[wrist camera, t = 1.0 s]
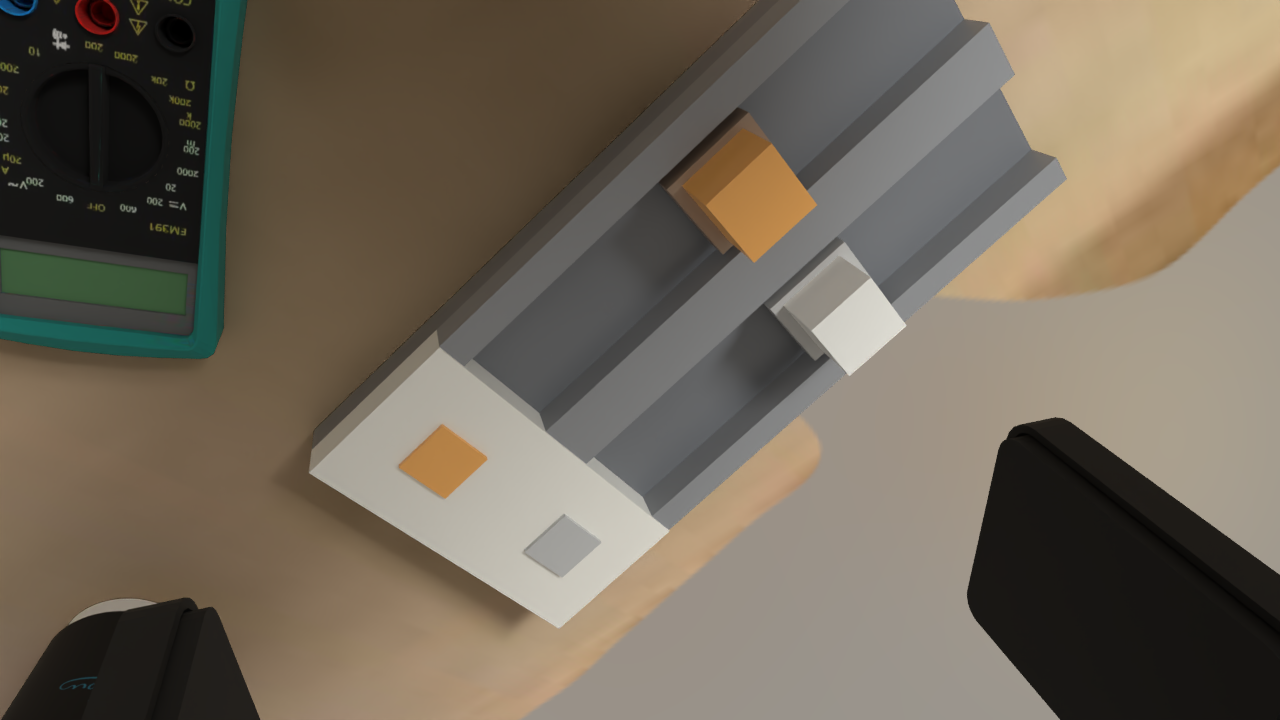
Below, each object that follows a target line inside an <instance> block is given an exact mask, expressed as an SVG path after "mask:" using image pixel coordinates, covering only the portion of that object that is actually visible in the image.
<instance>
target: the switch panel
mask: <svg viewBox="0 0 1280 720" xmlns="http://www.w3.org/2000/svg"><path fill="white" fill-rule="evenodd" d="M1014 75H1015V74H1014V72H1013V70H1012V68H1011V66H1010V64H1009V62H1008V60H1007V58H1006V56H1005V54H1004V52H1003V50H1002V48H1001V46H1000V44H999V42H998V39H997V37H996V35H995V33H994V31H993V29H992V27H991V25H990V23H987V22H980V21H973V20H966V19H964V18H963V16H962V14H961V12H960V10H959V8H958V6H957V4H956V2H955V0H759V1H758V2H757V3H756V4H755V5H754V6H753V7H752V8H751V9H749V10H748V11H747V12H746V13H745V14H744V15H743V16H742V17H741V18H740V19H739V20H738V21H737V22H736V23H735V24H734V25H733V26H732V27H731V28H730V29H729V30H728V31H727V32H726V33H725V34H724V35H723V36H722V37H720V38H719V39H718V40H717V41H716V42H715V43H714V44H713V45H712V46H711V47H710V48H709V49H708V50H707V51H706V52H705V53H704V54H703V55H702V56H701V57H700V58H699V59H698V60H697V61H696V62H695V63H694V64H693V65H692V66H690V67H689V68H688V69H687V70H686V71H685V72H684V73H683V74H682V75H681V76H680V77H679V78H678V79H677V80H676V81H675V82H674V83H673V84H672V85H671V86H670V87H669V88H668V89H667V90H666V91H665V92H664V93H663V94H661V95H660V96H659V97H658V98H657V99H656V100H655V101H654V102H653V103H652V104H651V105H650V106H649V107H648V108H647V109H646V110H645V111H644V112H643V113H642V114H641V115H640V116H639V117H638V118H637V119H636V120H635V121H634V122H633V123H631V124H630V125H629V126H628V127H627V128H626V129H625V130H624V131H623V132H622V133H621V134H620V135H619V136H618V137H617V138H616V139H615V140H614V141H613V142H612V143H611V144H610V145H609V146H608V147H607V148H606V149H605V150H604V151H602V152H601V153H600V154H599V155H598V156H597V157H596V158H595V159H594V160H593V161H592V162H591V163H590V164H589V165H588V166H587V167H586V168H585V169H584V170H583V171H582V172H581V173H580V174H579V175H578V176H577V177H576V178H575V179H574V180H572V181H571V182H570V183H569V184H568V185H567V186H566V187H565V188H564V189H563V190H562V191H561V192H560V193H559V194H558V195H557V196H556V197H555V198H554V199H553V200H552V201H551V202H550V203H549V204H548V205H547V206H546V207H545V208H543V209H542V210H541V211H540V212H539V213H538V214H537V215H536V216H535V217H534V218H533V219H532V220H531V221H530V222H529V223H528V224H527V225H526V226H525V227H524V228H523V229H522V230H521V231H520V232H519V233H518V234H517V235H516V236H515V237H513V238H512V239H511V240H510V241H509V242H508V243H507V244H506V245H505V246H504V247H503V248H502V249H501V250H500V251H499V252H498V253H497V254H496V255H495V256H494V257H493V258H492V259H491V260H490V261H489V262H488V263H487V264H486V265H484V266H483V267H482V268H481V269H480V270H479V271H478V272H477V273H476V274H475V275H474V276H473V277H472V278H471V279H470V280H469V281H468V282H467V283H466V284H465V285H464V286H463V287H462V288H461V289H460V290H459V291H458V292H457V293H456V294H454V295H453V296H452V297H451V298H450V299H449V300H448V301H447V302H446V303H445V304H444V305H443V306H442V307H441V308H440V309H439V310H438V311H437V312H436V313H435V314H434V315H433V316H432V317H431V318H430V319H429V320H428V321H427V322H425V323H424V324H423V325H422V326H421V327H420V328H419V329H418V330H417V331H416V332H415V333H414V334H413V335H412V336H411V337H410V338H409V339H408V340H407V341H406V342H405V343H404V344H403V345H402V346H401V347H400V348H399V349H398V350H397V351H395V352H394V353H393V354H392V355H391V356H390V357H389V358H388V359H387V360H386V361H385V362H384V363H383V364H382V365H381V366H380V367H379V368H378V369H377V370H376V371H375V372H374V373H373V374H372V375H371V376H370V377H369V378H368V379H366V380H365V381H364V382H363V383H362V384H361V385H360V386H359V387H358V388H357V389H356V390H355V391H354V392H353V393H352V394H351V395H350V396H349V397H348V398H347V399H346V400H345V401H344V402H343V403H342V404H341V405H340V406H339V407H338V408H336V409H335V410H334V411H333V412H332V413H331V414H330V415H329V416H328V417H327V418H326V419H325V420H324V421H323V422H322V423H321V424H320V425H319V426H318V427H317V428H316V429H315V430H314V434H313V443H312V451H311V459H310V467H309V473H310V474H311V475H313V476H314V477H316V478H318V479H319V480H321V481H322V482H324V483H326V484H327V485H329V486H330V487H332V488H334V489H335V490H337V491H338V492H340V493H342V494H343V495H345V496H347V497H348V498H350V499H351V500H353V501H355V502H356V503H358V504H359V505H361V506H363V507H364V508H366V509H367V510H369V511H371V512H372V513H374V514H375V515H377V516H379V517H380V518H382V519H383V520H385V521H387V522H388V523H390V524H392V525H393V526H395V527H396V528H398V529H400V530H401V531H403V532H404V533H406V534H408V535H409V536H411V537H412V538H414V539H416V540H417V541H419V542H420V543H422V544H424V545H425V546H427V547H428V548H430V549H432V550H433V551H435V552H437V553H438V554H440V555H441V556H443V557H445V558H446V559H448V560H449V561H451V562H453V563H454V564H456V565H457V566H459V567H461V568H462V569H464V570H465V571H467V572H469V573H470V574H472V575H473V576H475V577H477V578H478V579H480V580H481V581H483V582H485V583H486V584H488V585H490V586H491V587H493V588H494V589H496V590H498V591H499V592H501V593H502V594H504V595H506V596H507V597H509V598H510V599H512V600H514V601H515V602H517V603H518V604H520V605H522V606H523V607H525V608H526V609H528V610H530V611H531V612H533V613H535V614H536V615H538V616H539V617H541V618H543V619H544V620H546V621H547V622H549V623H551V624H552V625H554V626H555V627H557V628H560V627H562V626H563V625H564V624H565V623H566V622H567V621H568V620H569V619H571V618H572V617H573V616H574V615H575V614H576V613H577V612H579V611H580V610H581V609H582V608H583V607H584V606H585V605H586V604H588V603H589V602H590V601H591V600H592V599H593V598H594V597H596V596H597V595H598V594H599V593H600V592H601V591H602V590H604V589H605V588H606V587H607V586H608V585H609V584H610V583H611V582H613V581H614V580H615V579H616V578H617V577H618V576H619V575H621V574H622V573H623V572H624V571H625V570H626V569H627V568H628V567H630V566H631V565H632V564H633V563H634V562H635V561H636V560H638V559H639V558H640V557H641V556H642V555H643V554H644V553H645V552H647V551H648V550H649V549H650V548H651V547H652V546H653V545H655V544H656V543H657V542H658V541H659V540H660V539H661V538H662V537H664V536H665V535H666V534H667V533H668V532H669V529H670V528H672V527H673V526H674V525H675V524H676V523H677V522H678V521H680V520H681V519H682V518H683V517H684V516H685V515H686V514H687V513H689V512H690V511H691V510H692V509H693V508H694V507H695V506H697V505H698V504H699V503H700V502H701V501H702V500H703V499H704V498H706V497H707V496H708V495H709V494H710V493H711V492H712V491H714V490H715V489H716V488H717V487H718V486H719V485H720V484H721V483H723V482H724V481H725V480H726V479H727V478H728V477H729V476H731V475H732V474H733V473H734V472H735V471H736V470H737V469H739V468H740V467H741V466H742V465H743V464H744V463H745V462H746V461H748V460H749V459H750V458H751V457H752V456H753V455H754V454H756V453H757V452H758V451H759V450H760V449H761V448H762V447H763V446H765V445H766V444H767V443H768V442H769V441H770V440H771V439H773V438H774V437H775V436H776V435H777V434H778V433H779V432H780V431H782V430H783V429H784V428H785V427H786V426H787V425H788V424H790V423H791V422H792V421H793V420H794V419H795V418H796V417H797V416H799V415H800V414H801V413H802V412H803V411H804V410H805V409H807V408H808V407H809V406H810V405H811V404H812V403H813V402H814V401H816V400H817V399H818V398H819V397H820V396H821V395H822V394H824V393H825V392H826V391H827V390H828V389H829V388H830V387H831V386H833V385H834V384H835V383H836V382H837V381H838V380H839V379H840V378H842V377H843V376H844V375H845V374H846V372H845V371H844V370H842V369H841V368H840V367H839V366H838V365H837V364H836V363H835V362H834V361H833V360H832V359H831V358H830V357H828V356H827V355H826V354H825V353H824V354H822V355H821V356H820V357H819V358H818V359H817V360H816V361H815V360H814V359H813V358H812V357H811V356H810V355H808V354H807V353H806V352H805V351H804V350H803V349H802V348H801V346H800V345H799V344H798V343H797V342H796V341H795V339H794V338H793V337H792V336H791V335H790V334H789V333H788V331H787V330H786V329H785V328H784V327H783V326H782V324H781V323H780V322H779V321H778V320H777V319H776V318H775V316H774V315H773V314H772V313H771V312H770V311H769V310H768V308H767V307H766V306H765V305H764V304H763V303H764V302H765V301H766V300H767V299H768V298H770V297H771V296H772V295H773V294H774V293H775V292H776V291H777V290H778V289H779V288H781V287H782V286H783V285H784V284H785V283H786V282H787V281H788V280H789V279H790V278H792V277H793V276H794V275H795V274H796V273H797V272H798V271H799V270H800V269H801V268H803V267H804V266H805V265H806V264H807V263H808V262H809V261H810V260H811V259H812V258H814V257H815V256H816V255H817V254H818V253H819V252H820V251H821V250H822V249H823V248H825V247H826V246H827V245H828V244H829V243H830V242H831V241H832V240H833V239H835V238H836V237H838V238H839V239H841V240H842V241H844V242H845V243H846V245H847V246H848V247H849V249H850V250H851V251H852V253H853V254H854V255H855V257H856V258H857V259H858V261H859V262H860V263H861V265H862V266H863V268H864V269H865V270H866V272H867V273H868V274H869V276H870V277H871V278H872V280H873V281H874V282H875V284H876V285H877V286H878V288H879V289H880V290H881V292H882V293H883V294H884V296H885V297H886V298H887V300H888V301H889V303H890V304H891V305H892V307H893V308H894V309H895V311H896V312H897V313H898V315H899V316H900V317H901V319H902V320H903V321H904V322H905V321H906V320H907V319H909V318H910V317H911V316H912V315H913V314H914V313H915V312H917V311H918V310H919V309H920V308H921V307H922V306H923V305H924V304H926V302H928V301H929V300H930V299H931V298H932V297H934V296H935V295H936V294H937V293H938V292H939V291H940V290H941V289H943V288H944V287H945V286H946V285H947V284H948V283H949V282H951V281H952V280H953V279H954V278H955V277H956V276H957V275H958V274H960V273H961V272H962V271H963V270H964V269H965V268H966V267H968V266H969V265H970V264H971V263H972V262H973V261H974V260H975V259H977V258H978V257H979V256H980V255H981V254H982V253H983V252H985V251H986V250H987V249H988V248H989V247H990V246H991V245H993V244H994V243H995V242H996V241H997V240H998V239H999V238H1000V237H1002V236H1003V235H1004V234H1005V233H1006V232H1007V231H1008V230H1010V229H1011V228H1012V227H1013V226H1014V225H1015V224H1016V223H1017V222H1019V221H1020V220H1021V219H1022V218H1023V217H1024V216H1025V215H1027V214H1028V213H1029V212H1030V211H1031V210H1032V209H1033V208H1034V207H1036V206H1037V205H1038V204H1039V203H1040V202H1041V201H1042V200H1044V199H1045V198H1046V197H1047V196H1048V195H1049V194H1050V193H1051V192H1053V191H1054V190H1055V189H1056V188H1057V187H1058V186H1059V185H1061V184H1062V183H1063V182H1064V181H1065V180H1066V179H1067V178H1066V176H1065V174H1064V172H1063V170H1062V168H1061V166H1060V164H1059V162H1058V160H1057V158H1055V157H1052V156H1049V155H1046V154H1043V153H1040V152H1037V151H1034V150H1031V148H1030V146H1029V144H1028V142H1027V140H1026V138H1025V136H1024V134H1023V132H1022V130H1021V128H1020V126H1019V124H1018V122H1017V121H1016V119H1015V117H1014V115H1013V113H1012V111H1011V109H1010V107H1009V105H1008V103H1007V101H1006V99H1005V97H1004V95H1003V93H1002V91H1001V90H1000V88H1001V87H1002V86H1003V85H1004V84H1005V83H1006V82H1007V81H1008V80H1009V79H1011V78H1012V77H1013V76H1014ZM737 107H739V108H741V109H743V110H745V111H747V112H749V113H750V115H751V116H752V117H753V119H754V120H755V122H756V123H757V124H758V126H759V127H760V128H761V130H762V131H763V132H764V134H765V135H766V136H767V138H768V139H769V140H770V142H771V143H772V144H773V146H774V147H775V148H776V150H777V151H778V152H779V154H780V155H781V157H782V158H783V159H784V161H785V162H786V163H787V165H788V166H789V167H790V169H791V170H792V171H793V173H794V174H795V175H796V177H797V178H798V180H799V181H800V182H801V184H802V185H803V186H804V188H805V189H806V190H807V192H808V193H809V194H810V196H811V197H812V198H813V200H814V201H815V203H816V204H817V206H816V207H815V208H813V209H812V210H811V211H810V212H809V213H808V214H807V215H806V216H805V217H804V218H803V219H801V220H800V221H799V222H798V223H797V224H796V225H795V226H794V227H793V228H792V229H791V230H789V231H788V232H787V233H786V234H785V235H784V236H783V237H782V238H781V239H780V240H779V241H777V242H776V243H775V244H774V245H773V246H772V247H771V248H770V249H769V250H768V251H767V252H766V253H764V254H763V255H762V256H761V257H760V258H759V259H758V260H757V261H756V262H755V263H754V262H752V261H751V260H750V259H749V258H748V257H747V256H745V255H744V254H743V253H742V252H741V251H740V250H739V249H737V248H736V247H735V246H734V245H733V246H732V247H731V248H730V249H729V250H727V251H726V252H725V253H724V254H722V253H721V252H720V251H719V250H717V249H716V248H715V247H714V246H713V245H712V244H711V243H710V242H709V240H708V239H707V238H706V237H705V236H704V235H703V234H702V232H701V231H700V230H699V229H698V228H697V227H696V225H695V224H694V223H693V222H692V221H691V220H690V219H689V217H688V216H687V215H686V214H685V213H684V212H683V211H682V209H681V208H680V207H679V206H678V205H677V204H676V202H675V201H674V200H673V199H672V198H671V197H670V196H669V194H668V193H667V192H666V191H665V190H664V189H663V188H662V186H661V185H660V184H659V183H658V182H659V181H660V180H661V179H662V178H663V177H664V176H665V175H666V174H667V173H668V172H669V171H671V170H672V169H673V168H674V167H675V166H676V165H677V164H678V163H679V162H680V161H681V160H682V159H683V158H684V157H685V156H686V155H687V154H688V153H689V152H691V151H692V150H693V149H694V148H695V147H696V146H697V145H698V144H699V143H700V142H701V141H702V140H703V139H704V138H705V137H706V136H707V135H708V134H709V133H711V132H712V131H713V130H714V129H715V128H716V127H717V126H718V125H719V124H720V123H721V122H722V121H723V120H724V119H725V118H726V117H727V116H728V115H729V114H731V113H732V112H733V111H734V110H735V109H736V108H737Z"/></svg>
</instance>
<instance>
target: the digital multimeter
mask: <svg viewBox="0 0 1280 720" xmlns="http://www.w3.org/2000/svg"><path fill="white" fill-rule="evenodd" d="M246 7H247V0H216V2H215V0H0V339H5V340H11V341H16V342H22V343H27V344H33V345H40V346H46V347H53V348H59V349H66V350H72V351H81V352H91V353H100V354H110V355H121V356H139V357H157V358H189V359H202V358H208V357H209V356H211V355H213V354H214V352H215V349H216V347H217V344H218V342H219V339H220V337H221V334H222V331H223V329H224V294H225V254H226V222H227V206H228V191H229V175H230V159H231V143H232V130H233V121H234V112H235V103H236V93H237V84H238V75H239V66H240V56H241V47H242V38H243V30H244V22H245V15H246ZM214 10H215V18H214ZM213 26H214V33H213ZM212 41H213V48H212ZM211 56H212V62H211ZM68 63H70V64H68ZM95 64H97V65H95ZM99 65H101V66H99ZM53 67H54V68H53ZM109 68H110V69H109ZM112 69H113V70H112ZM210 71H211V77H210ZM43 72H44V73H43ZM40 74H41V75H40ZM123 74H124V75H123ZM125 75H126V76H127V77H126V76H125ZM128 77H129V78H128ZM33 80H34V81H33ZM32 81H33V82H32ZM138 84H139V85H140V86H141V87H140V86H139V85H138ZM209 86H210V91H209ZM150 96H151V97H152V98H151V97H150ZM208 102H209V106H208ZM21 103H22V104H21ZM157 105H158V106H157ZM159 108H160V109H159ZM160 110H161V111H160ZM20 112H21V117H20ZM162 114H163V115H162ZM163 116H164V117H163ZM207 117H208V120H207ZM164 118H165V120H164ZM22 129H23V130H22ZM167 129H168V130H167ZM206 132H207V134H206ZM26 140H27V141H26ZM27 142H28V143H27ZM205 147H206V149H205ZM33 152H34V153H35V154H34V153H33ZM166 156H167V157H166ZM204 163H205V165H204ZM43 164H44V165H43ZM162 165H163V166H162ZM54 173H55V174H56V175H55V174H54ZM57 175H58V176H57ZM203 178H204V180H203ZM65 180H66V181H65ZM67 181H68V182H67ZM69 182H70V183H69ZM146 182H147V183H146ZM71 183H72V184H71ZM78 186H79V187H78ZM81 187H82V188H81ZM136 187H137V188H136ZM84 188H85V189H84ZM92 190H93V191H92ZM97 191H99V192H97ZM122 191H123V192H122ZM108 192H112V193H108ZM202 193H203V196H202ZM201 208H202V211H201ZM200 224H201V227H200ZM199 239H200V242H199ZM198 254H199V257H198Z"/></svg>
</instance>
